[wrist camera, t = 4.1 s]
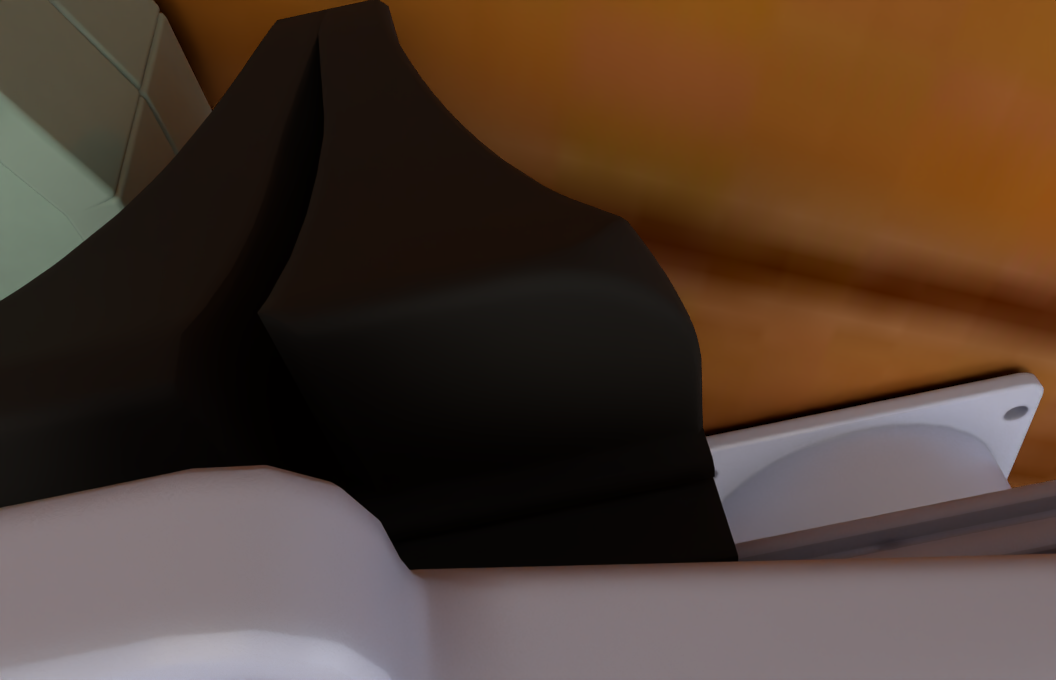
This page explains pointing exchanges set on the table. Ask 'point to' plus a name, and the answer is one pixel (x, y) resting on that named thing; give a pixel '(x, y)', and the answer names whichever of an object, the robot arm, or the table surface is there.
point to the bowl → (83, 121)
